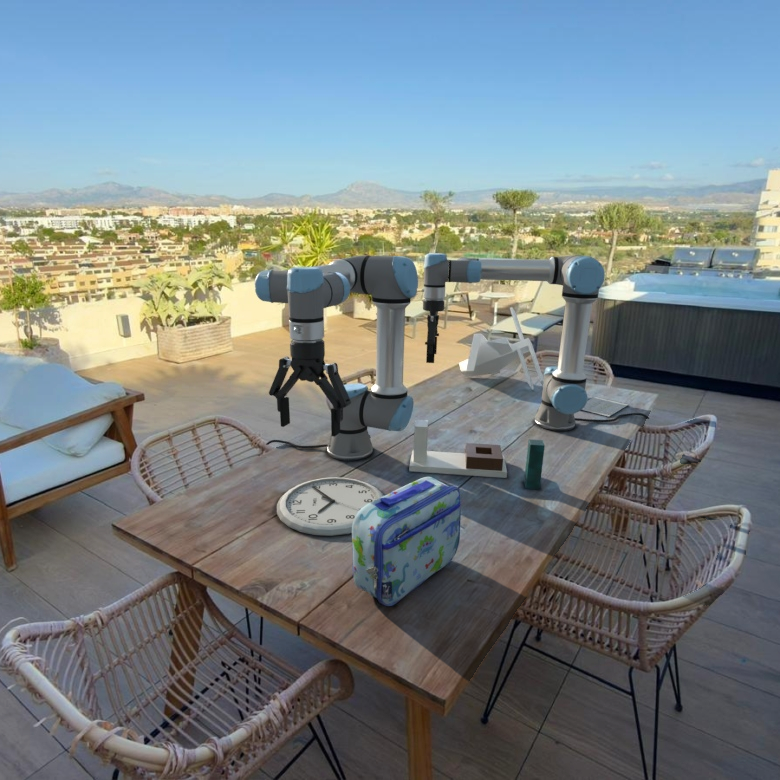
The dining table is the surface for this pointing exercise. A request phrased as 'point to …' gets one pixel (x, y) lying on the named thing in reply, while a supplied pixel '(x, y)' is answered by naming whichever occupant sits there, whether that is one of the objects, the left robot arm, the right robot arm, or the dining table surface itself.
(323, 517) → the wall clock
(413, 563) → the lunch box
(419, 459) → the peg board
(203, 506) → the dining table surface
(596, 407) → the invitation card
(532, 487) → the peg
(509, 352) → the white plastic object
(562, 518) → the dining table surface
